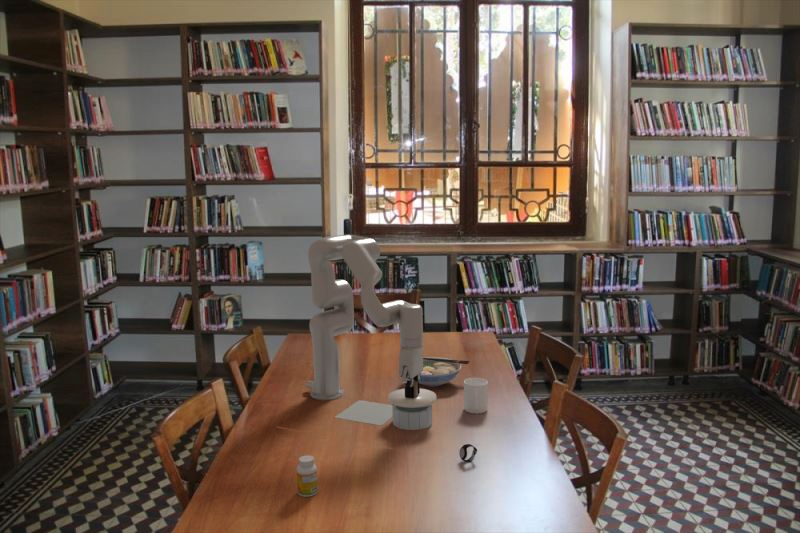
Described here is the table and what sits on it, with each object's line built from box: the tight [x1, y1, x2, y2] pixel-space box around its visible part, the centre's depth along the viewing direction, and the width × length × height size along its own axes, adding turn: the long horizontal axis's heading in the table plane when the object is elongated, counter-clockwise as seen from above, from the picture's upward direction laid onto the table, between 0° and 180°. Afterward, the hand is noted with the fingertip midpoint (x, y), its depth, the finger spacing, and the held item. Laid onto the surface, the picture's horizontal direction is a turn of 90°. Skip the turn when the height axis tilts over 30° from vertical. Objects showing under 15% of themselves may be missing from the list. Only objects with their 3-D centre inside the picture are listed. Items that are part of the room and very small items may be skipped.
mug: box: [463, 377, 489, 415], centre depth 243 cm, size 12×8×10 cm
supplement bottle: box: [296, 454, 319, 498], centre depth 188 cm, size 5×5×10 cm
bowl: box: [391, 404, 433, 431], centre depth 234 cm, size 13×13×6 cm
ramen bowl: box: [408, 356, 470, 388], centre depth 273 cm, size 25×23×8 cm
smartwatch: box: [459, 443, 478, 463], centre depth 205 cm, size 4×5×5 cm
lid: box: [387, 379, 437, 408], centre depth 233 cm, size 16×16×6 cm
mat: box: [333, 399, 392, 427], centre depth 244 cm, size 18×18×1 cm
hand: (412, 395), depth 233 cm, fingers closed on lid, 3 cm apart
